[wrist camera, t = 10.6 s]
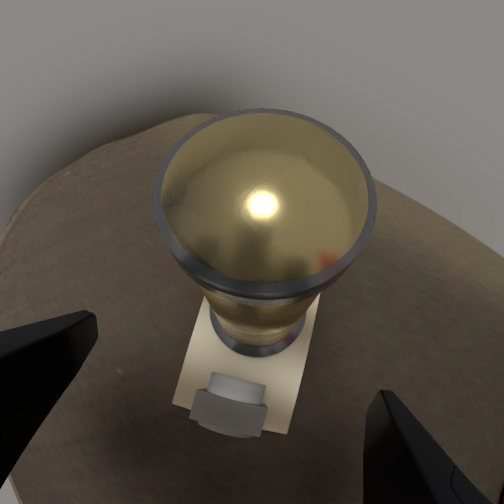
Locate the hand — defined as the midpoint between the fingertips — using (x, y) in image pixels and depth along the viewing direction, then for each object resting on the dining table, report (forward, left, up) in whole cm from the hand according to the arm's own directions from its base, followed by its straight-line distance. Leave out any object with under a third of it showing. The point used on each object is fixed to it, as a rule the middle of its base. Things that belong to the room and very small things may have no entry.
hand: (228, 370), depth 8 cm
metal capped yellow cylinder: (+2, +3, -9) cm, 10 cm away
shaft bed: (+2, +3, -10) cm, 11 cm away
